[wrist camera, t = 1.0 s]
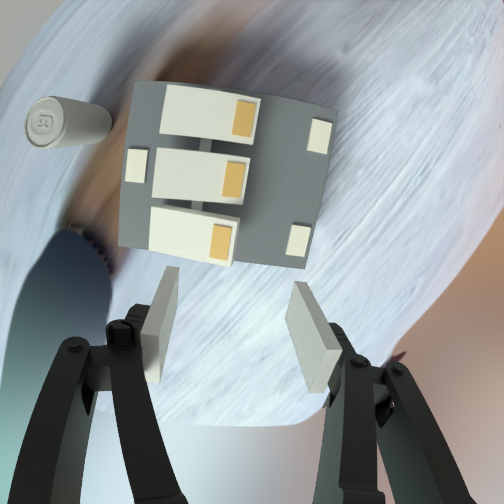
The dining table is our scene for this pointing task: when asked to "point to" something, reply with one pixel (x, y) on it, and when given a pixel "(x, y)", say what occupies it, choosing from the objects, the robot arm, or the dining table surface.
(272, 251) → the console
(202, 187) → the rocker
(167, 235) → the rocker
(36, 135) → the beverage can
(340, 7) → the dining table surface
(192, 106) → the plate
